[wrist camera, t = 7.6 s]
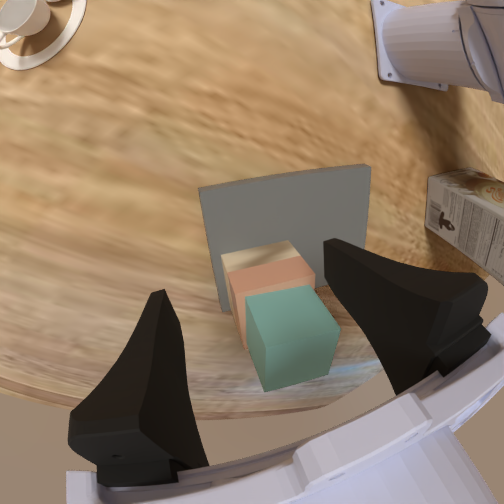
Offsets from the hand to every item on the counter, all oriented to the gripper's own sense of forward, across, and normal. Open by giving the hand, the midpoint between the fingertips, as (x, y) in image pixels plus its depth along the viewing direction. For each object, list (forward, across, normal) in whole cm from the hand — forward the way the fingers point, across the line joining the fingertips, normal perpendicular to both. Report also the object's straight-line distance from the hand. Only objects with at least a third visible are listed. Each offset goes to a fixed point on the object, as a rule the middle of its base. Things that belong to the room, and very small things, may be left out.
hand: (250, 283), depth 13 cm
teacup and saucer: (+11, +7, -17) cm, 22 cm away
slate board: (+10, -6, +5) cm, 13 cm away
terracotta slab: (+7, -2, +7) cm, 10 cm away
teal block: (+4, -2, +7) cm, 8 cm away
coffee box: (+11, -26, +5) cm, 29 cm away
